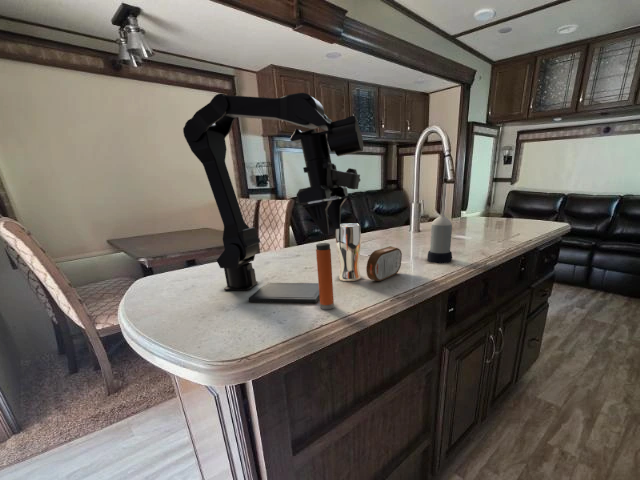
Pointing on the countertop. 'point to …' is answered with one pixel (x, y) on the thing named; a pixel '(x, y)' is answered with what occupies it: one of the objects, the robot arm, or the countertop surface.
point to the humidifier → (441, 237)
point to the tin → (384, 263)
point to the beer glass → (349, 251)
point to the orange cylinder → (325, 275)
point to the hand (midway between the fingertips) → (332, 231)
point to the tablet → (287, 293)
